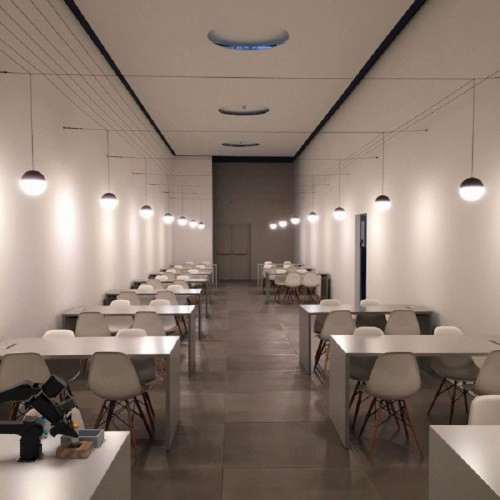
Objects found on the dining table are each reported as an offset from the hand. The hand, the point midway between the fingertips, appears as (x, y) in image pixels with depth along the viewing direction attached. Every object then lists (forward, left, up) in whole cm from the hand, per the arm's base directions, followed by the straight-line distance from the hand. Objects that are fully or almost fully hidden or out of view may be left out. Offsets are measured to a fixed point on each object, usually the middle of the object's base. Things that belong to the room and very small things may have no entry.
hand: (78, 435), depth 188 cm
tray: (-2, +9, -7) cm, 11 cm away
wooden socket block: (-1, 0, -7) cm, 7 cm away
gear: (-22, +17, -7) cm, 29 cm away
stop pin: (-1, 0, -7) cm, 7 cm away
